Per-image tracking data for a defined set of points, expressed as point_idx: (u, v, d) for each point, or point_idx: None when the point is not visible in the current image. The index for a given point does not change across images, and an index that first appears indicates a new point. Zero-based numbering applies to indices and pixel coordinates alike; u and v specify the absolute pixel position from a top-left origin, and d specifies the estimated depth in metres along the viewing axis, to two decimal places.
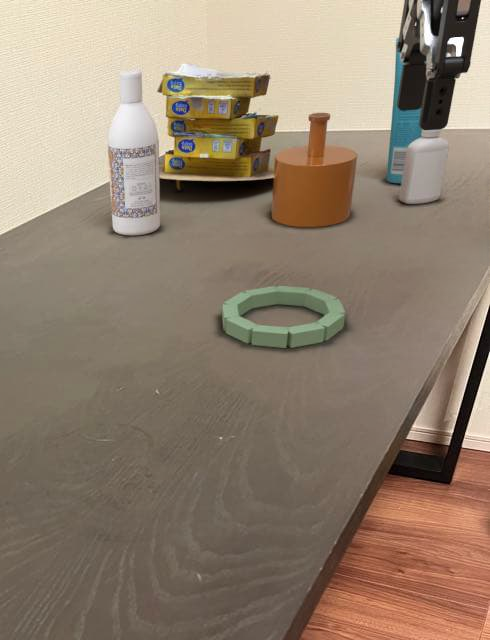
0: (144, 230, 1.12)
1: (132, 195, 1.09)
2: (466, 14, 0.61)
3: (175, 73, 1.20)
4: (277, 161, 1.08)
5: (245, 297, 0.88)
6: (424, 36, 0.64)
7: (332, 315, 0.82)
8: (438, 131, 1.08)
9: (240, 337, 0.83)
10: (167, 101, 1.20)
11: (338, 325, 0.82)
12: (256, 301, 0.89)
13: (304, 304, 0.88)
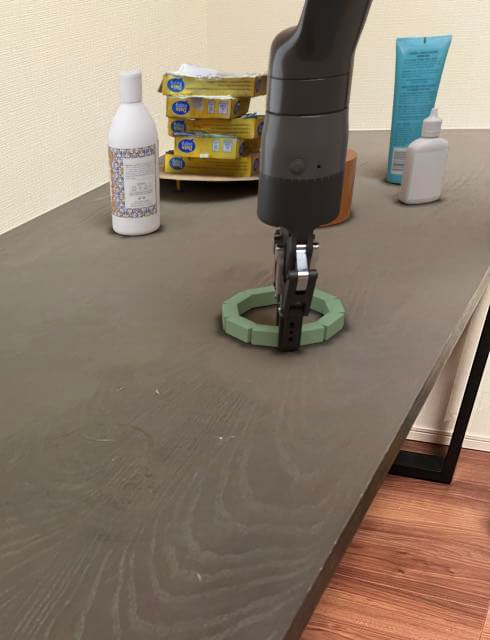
0: (144, 230, 1.12)
1: (132, 195, 1.09)
2: (304, 290, 0.72)
3: (175, 73, 1.20)
4: None
5: (245, 296, 0.88)
6: (277, 284, 0.76)
7: (332, 315, 0.82)
8: (438, 131, 1.08)
9: (240, 337, 0.83)
10: (167, 101, 1.20)
11: (338, 324, 0.82)
12: (256, 300, 0.89)
13: None
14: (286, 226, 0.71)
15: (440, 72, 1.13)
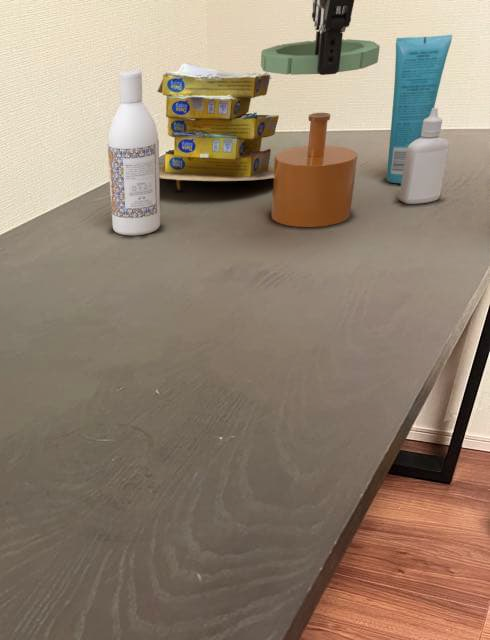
0: (144, 230, 1.12)
1: (132, 195, 1.09)
2: None
3: (175, 73, 1.20)
4: (277, 161, 1.08)
5: (283, 46, 0.93)
6: None
7: (367, 47, 0.87)
8: (438, 131, 1.08)
9: (280, 70, 0.87)
10: (167, 101, 1.20)
11: (373, 56, 0.87)
12: (293, 52, 0.93)
13: None
14: None
15: (440, 72, 1.13)
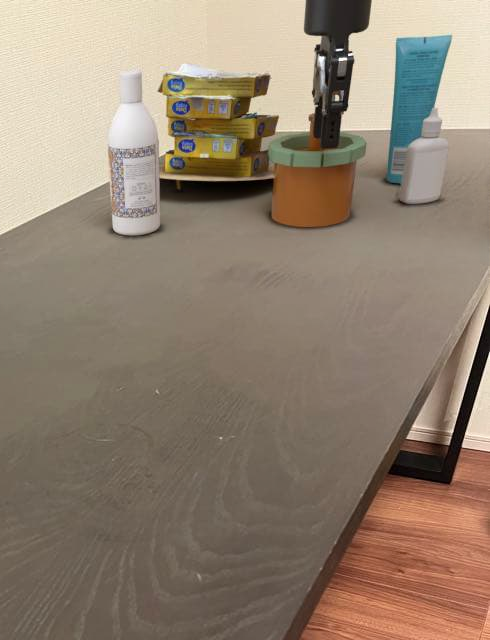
0: (144, 230, 1.12)
1: (132, 195, 1.09)
2: (343, 76, 0.92)
3: (175, 73, 1.20)
4: None
5: (286, 138, 1.11)
6: (320, 85, 0.96)
7: (356, 144, 1.05)
8: (438, 131, 1.08)
9: (284, 162, 1.06)
10: (167, 101, 1.20)
11: (361, 151, 1.05)
12: (295, 143, 1.12)
13: None
14: (328, 33, 0.92)
15: (440, 72, 1.13)
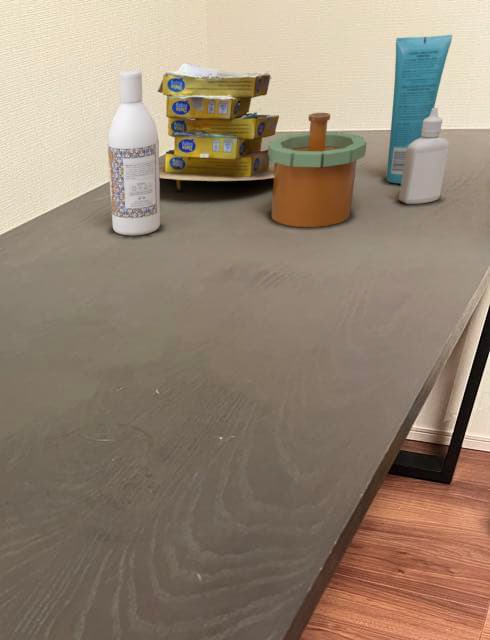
0: (144, 230, 1.12)
1: (132, 195, 1.09)
2: None
3: (175, 73, 1.20)
4: None
5: (286, 138, 1.11)
6: None
7: (356, 144, 1.05)
8: (438, 131, 1.08)
9: (284, 162, 1.06)
10: (167, 101, 1.20)
11: (361, 151, 1.05)
12: (295, 143, 1.12)
13: (333, 144, 1.11)
14: None
15: (440, 72, 1.13)
